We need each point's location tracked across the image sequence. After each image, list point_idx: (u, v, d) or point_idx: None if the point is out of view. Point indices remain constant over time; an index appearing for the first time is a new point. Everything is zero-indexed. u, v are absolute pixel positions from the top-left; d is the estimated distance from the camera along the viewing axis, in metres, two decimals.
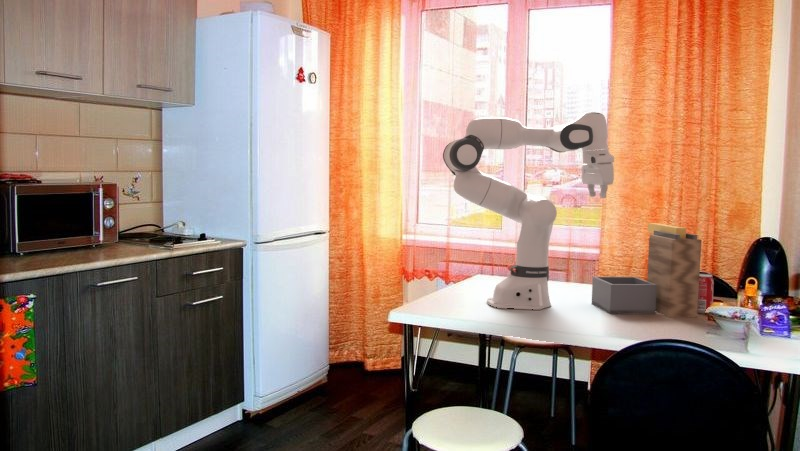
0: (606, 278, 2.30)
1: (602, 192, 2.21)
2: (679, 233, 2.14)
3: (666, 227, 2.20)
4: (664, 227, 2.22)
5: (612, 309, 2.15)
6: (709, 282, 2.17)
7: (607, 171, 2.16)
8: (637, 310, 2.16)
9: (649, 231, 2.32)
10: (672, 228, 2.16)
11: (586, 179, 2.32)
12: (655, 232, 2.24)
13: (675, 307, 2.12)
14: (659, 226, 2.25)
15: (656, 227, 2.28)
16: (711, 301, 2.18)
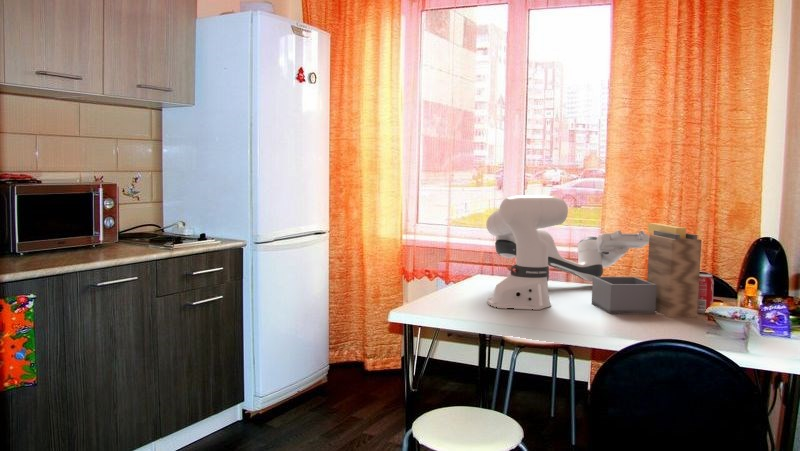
0: (606, 278, 2.30)
1: (615, 235, 2.52)
2: (679, 233, 2.14)
3: (666, 227, 2.20)
4: (664, 227, 2.22)
5: (612, 309, 2.15)
6: (709, 282, 2.17)
7: (598, 241, 2.59)
8: (637, 310, 2.16)
9: (649, 231, 2.32)
10: (672, 228, 2.16)
11: (638, 243, 2.57)
12: (655, 232, 2.24)
13: (675, 307, 2.12)
14: (659, 226, 2.25)
15: (656, 227, 2.28)
16: (711, 301, 2.18)
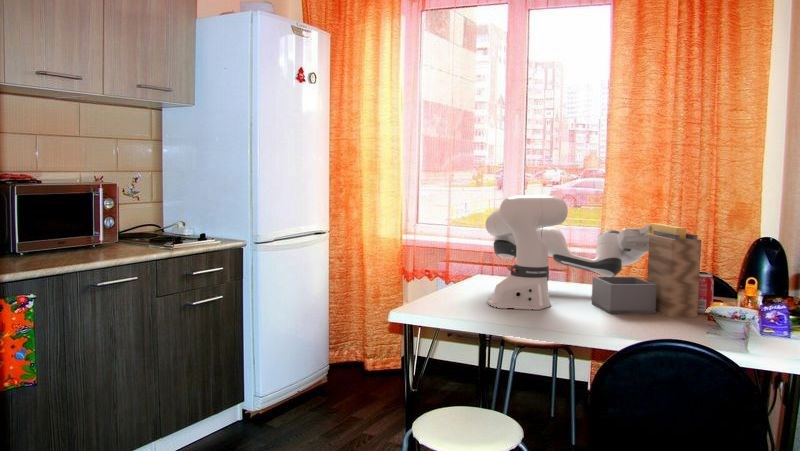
0: (606, 278, 2.30)
1: (645, 230, 2.32)
2: (679, 233, 2.14)
3: (666, 227, 2.20)
4: (664, 227, 2.22)
5: (612, 309, 2.15)
6: (709, 282, 2.17)
7: (620, 237, 2.39)
8: (637, 310, 2.16)
9: None
10: (672, 228, 2.16)
11: None
12: (655, 232, 2.24)
13: (675, 307, 2.12)
14: (659, 226, 2.25)
15: (656, 227, 2.28)
16: (711, 301, 2.18)
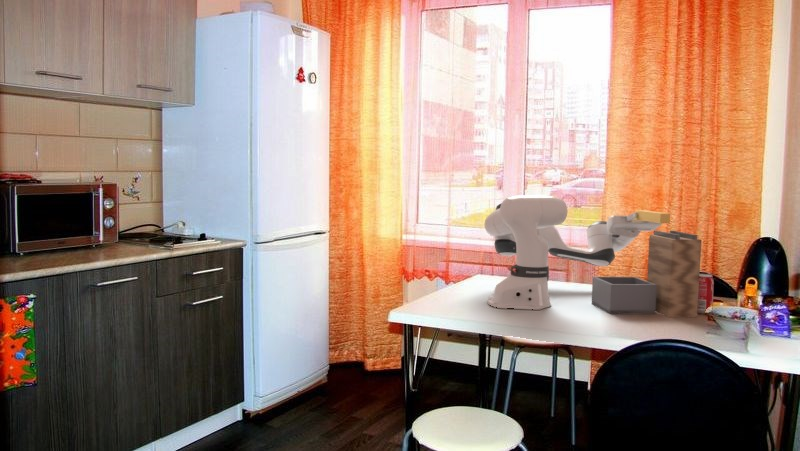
0: (606, 278, 2.30)
1: (632, 217, 2.45)
2: (663, 218, 2.27)
3: (651, 213, 2.33)
4: (650, 213, 2.35)
5: (612, 309, 2.15)
6: (709, 282, 2.17)
7: (609, 224, 2.52)
8: (637, 310, 2.16)
9: (636, 218, 2.45)
10: (657, 214, 2.29)
11: (650, 225, 2.50)
12: (655, 232, 2.24)
13: (675, 307, 2.12)
14: (645, 213, 2.38)
15: (642, 214, 2.41)
16: (711, 301, 2.18)
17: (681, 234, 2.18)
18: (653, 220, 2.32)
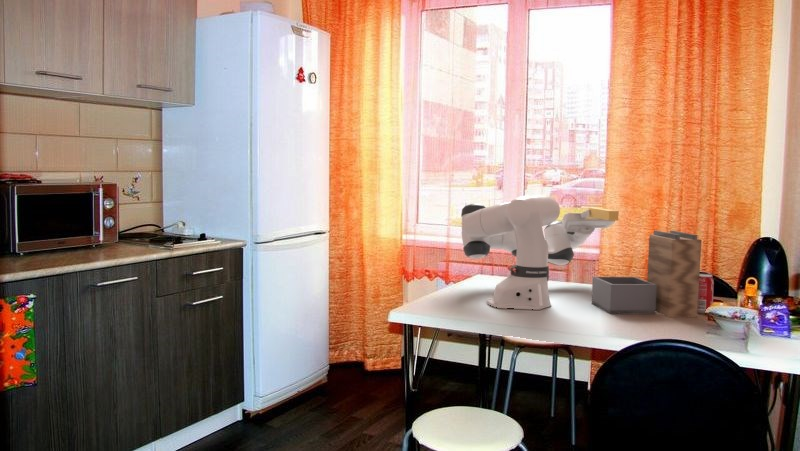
0: (606, 278, 2.30)
1: (585, 214, 2.50)
2: (612, 216, 2.32)
3: (602, 210, 2.38)
4: (600, 211, 2.40)
5: (612, 309, 2.15)
6: (709, 282, 2.17)
7: (563, 221, 2.57)
8: (637, 310, 2.16)
9: (589, 215, 2.50)
10: (606, 211, 2.34)
11: (603, 222, 2.55)
12: (655, 232, 2.24)
13: (675, 307, 2.12)
14: (596, 210, 2.44)
15: (594, 211, 2.46)
16: (711, 301, 2.18)
17: (681, 234, 2.18)
18: (603, 217, 2.37)
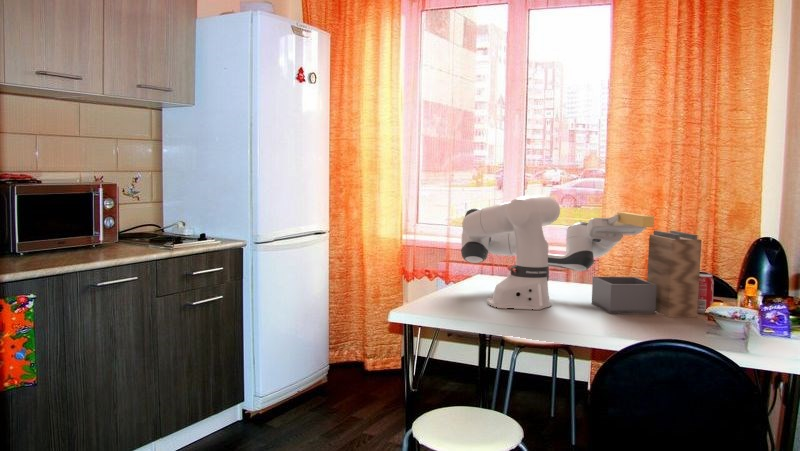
0: (606, 278, 2.30)
1: (614, 220, 2.24)
2: (646, 221, 2.05)
3: (634, 216, 2.12)
4: (632, 216, 2.13)
5: (612, 309, 2.15)
6: (709, 282, 2.17)
7: (589, 227, 2.30)
8: (637, 310, 2.16)
9: None
10: (640, 216, 2.08)
11: (634, 229, 2.28)
12: (655, 232, 2.24)
13: (675, 307, 2.12)
14: (627, 215, 2.17)
15: (624, 217, 2.19)
16: (711, 301, 2.18)
17: (681, 234, 2.18)
18: (636, 223, 2.10)
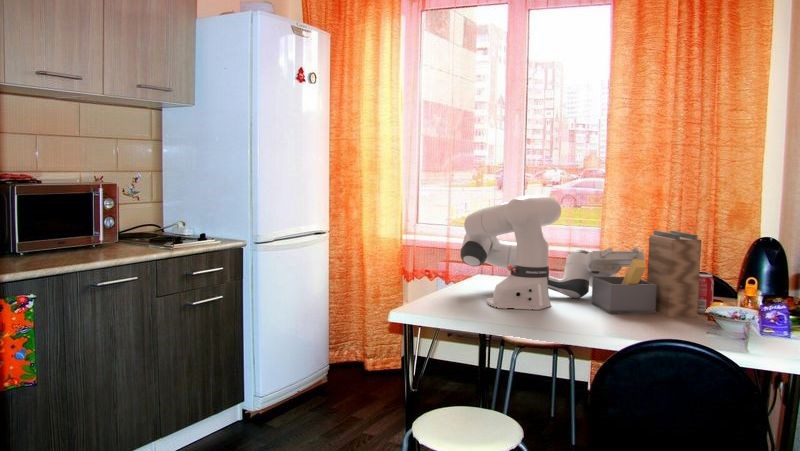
0: (606, 278, 2.30)
1: (606, 253, 2.25)
2: (638, 263, 2.11)
3: (627, 273, 2.17)
4: (625, 276, 2.18)
5: (612, 309, 2.15)
6: (709, 282, 2.17)
7: (587, 259, 2.31)
8: (637, 310, 2.16)
9: None
10: (630, 265, 2.14)
11: None
12: (655, 232, 2.24)
13: (675, 307, 2.12)
14: (622, 283, 2.20)
15: None
16: (711, 301, 2.18)
17: (681, 234, 2.18)
18: (630, 275, 2.14)
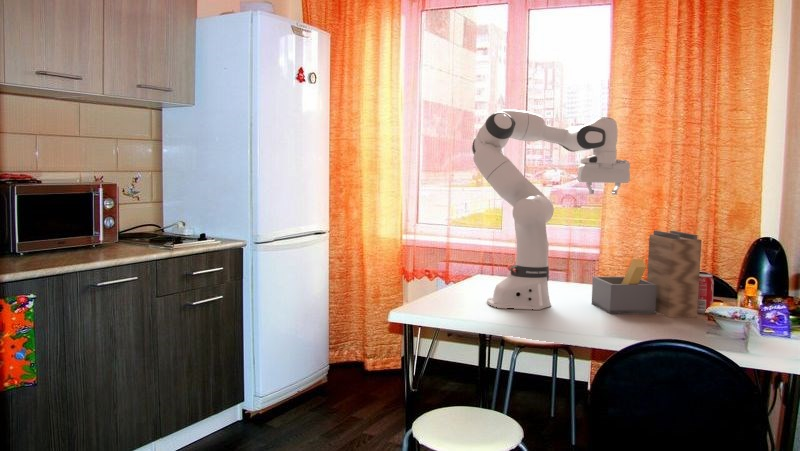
0: (606, 278, 2.30)
1: None
2: (638, 263, 2.11)
3: (627, 273, 2.17)
4: (625, 276, 2.18)
5: (612, 309, 2.15)
6: (709, 282, 2.17)
7: (580, 170, 2.50)
8: (637, 310, 2.16)
9: None
10: (630, 265, 2.14)
11: None
12: (655, 232, 2.24)
13: (675, 307, 2.12)
14: (622, 283, 2.20)
15: None
16: (711, 301, 2.18)
17: (681, 234, 2.18)
18: (630, 275, 2.14)
